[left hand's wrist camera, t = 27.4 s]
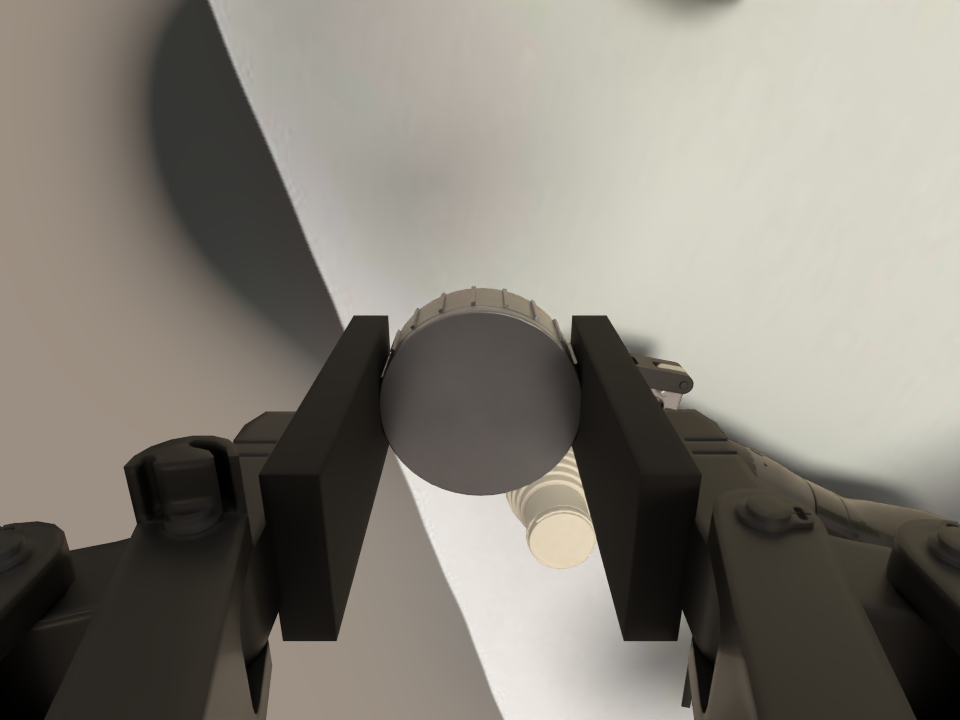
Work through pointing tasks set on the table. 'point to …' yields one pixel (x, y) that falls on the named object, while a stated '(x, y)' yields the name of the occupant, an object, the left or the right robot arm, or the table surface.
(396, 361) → the cap
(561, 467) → the bottle
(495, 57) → the table surface
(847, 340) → the table surface
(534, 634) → the table surface
